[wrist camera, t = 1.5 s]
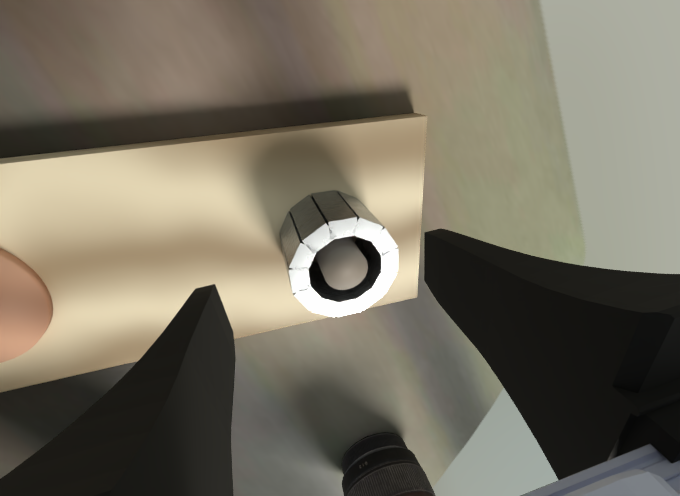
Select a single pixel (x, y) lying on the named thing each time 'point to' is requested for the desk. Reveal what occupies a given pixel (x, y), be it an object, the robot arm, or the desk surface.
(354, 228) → the collar
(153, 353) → the robot arm
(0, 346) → the stand board
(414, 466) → the camera lens
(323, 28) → the desk surface
